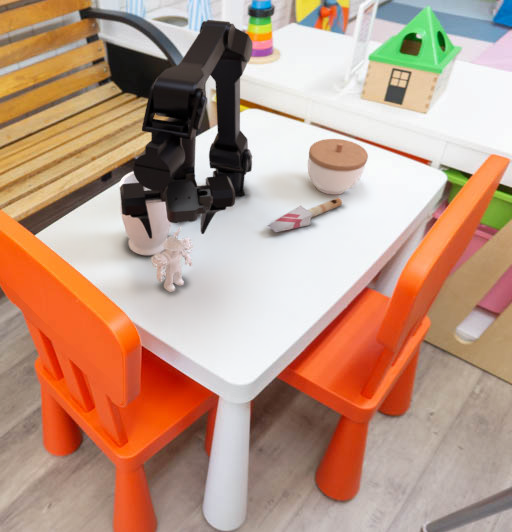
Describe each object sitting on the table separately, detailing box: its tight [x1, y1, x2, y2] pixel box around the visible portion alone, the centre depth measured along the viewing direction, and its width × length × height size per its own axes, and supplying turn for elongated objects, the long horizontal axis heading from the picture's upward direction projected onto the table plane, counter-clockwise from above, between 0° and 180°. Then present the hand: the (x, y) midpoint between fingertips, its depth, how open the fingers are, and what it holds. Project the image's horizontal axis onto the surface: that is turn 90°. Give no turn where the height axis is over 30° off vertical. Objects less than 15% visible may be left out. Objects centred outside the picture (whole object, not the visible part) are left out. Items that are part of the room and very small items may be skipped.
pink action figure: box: [150, 225, 194, 293], centre depth 97 cm, size 9×4×12 cm, turn 130°
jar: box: [118, 171, 172, 256], centre depth 106 cm, size 11×10×15 cm
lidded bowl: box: [307, 138, 369, 196], centre depth 121 cm, size 13×13×11 cm
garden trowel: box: [266, 197, 343, 233], centre depth 114 cm, size 4×3×20 cm
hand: (176, 235), depth 93 cm, fingers open, 9 cm apart
